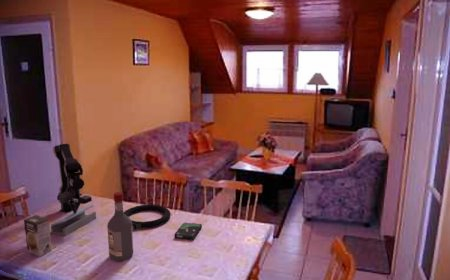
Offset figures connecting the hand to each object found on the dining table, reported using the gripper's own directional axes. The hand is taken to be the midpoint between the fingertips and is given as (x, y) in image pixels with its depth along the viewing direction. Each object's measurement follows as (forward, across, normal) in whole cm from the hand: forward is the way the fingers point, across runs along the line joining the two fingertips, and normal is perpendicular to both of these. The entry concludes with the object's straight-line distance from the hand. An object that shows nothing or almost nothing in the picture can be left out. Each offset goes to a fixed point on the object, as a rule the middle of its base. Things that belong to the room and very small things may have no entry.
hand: (75, 213), depth 188 cm
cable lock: (+6, +30, +21) cm, 37 cm away
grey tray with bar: (+7, 0, 0) cm, 7 cm away
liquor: (+9, +43, -16) cm, 47 cm away
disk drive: (+8, +60, +16) cm, 63 cm away
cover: (+1, 0, -1) cm, 1 cm away
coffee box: (+9, +5, -27) cm, 29 cm away
